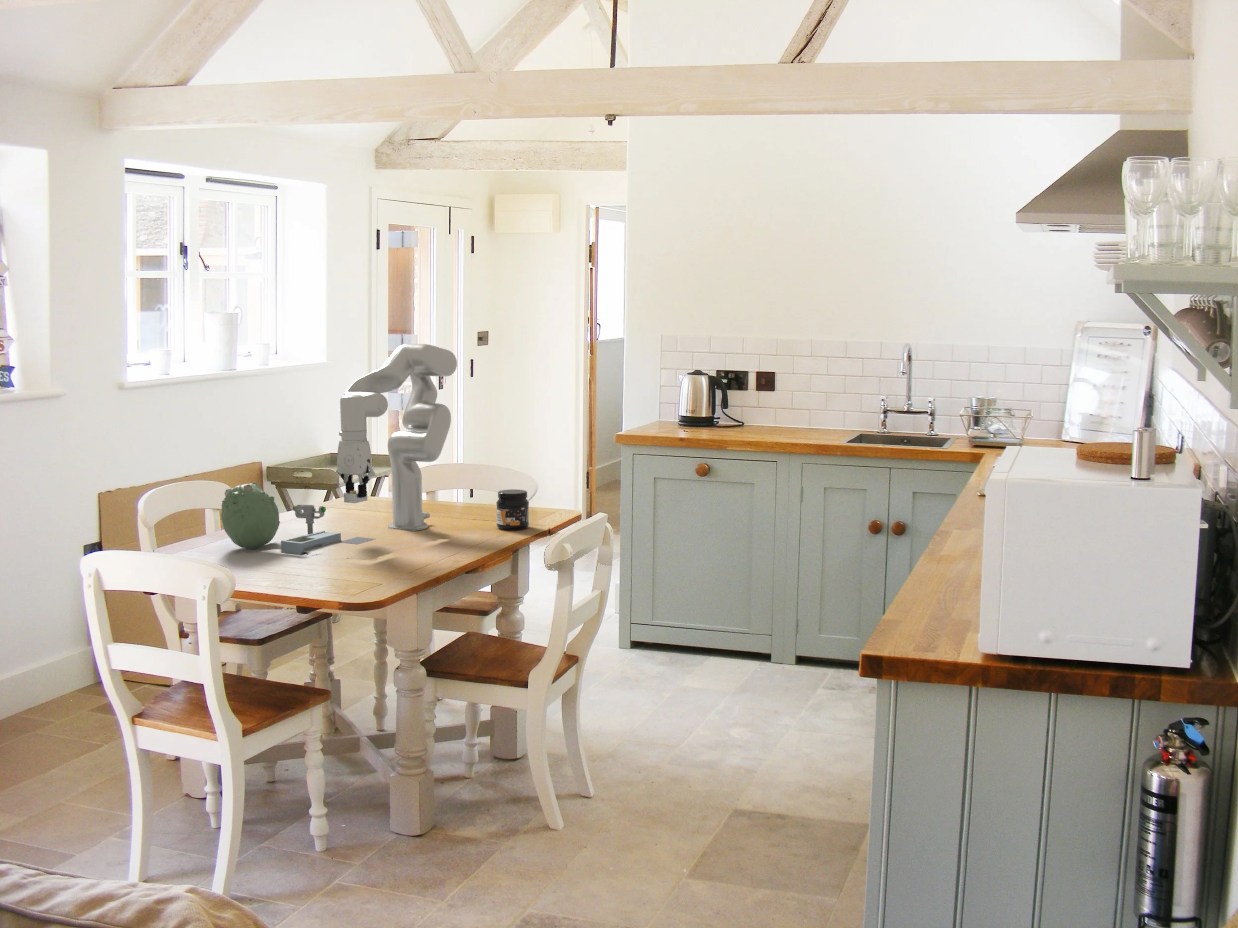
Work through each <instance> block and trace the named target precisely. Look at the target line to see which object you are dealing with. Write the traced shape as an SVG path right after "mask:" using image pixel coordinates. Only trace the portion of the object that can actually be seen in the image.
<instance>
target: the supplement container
mask: <svg viewBox="0 0 1238 928" xmlns="http://www.w3.org/2000/svg"><path fill="white" fill-rule="evenodd" d="M497 498H498V499H497V501H496V527H497V528H498V529H500V530H502V529H503V530H502V531H510V530H514V531H521V530H526V529H528V527H530V521H529V517H530V516H529V510H530V509H529V508H530V507H529V505H530V502H529V500H528V491H527V490H524V489H513V488H512V489H502V490H499V491H497Z"/></svg>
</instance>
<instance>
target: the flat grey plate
mask: <svg viewBox="0 0 1238 928" xmlns="http://www.w3.org/2000/svg"><path fill="white" fill-rule="evenodd" d="M374 540H375V538H373V537H372V538H371V537H362V536H356V537H352V538H348V539H344V540H341V541H339V543H342V544H352V545H359V544H364V543H367V542H370V541H374Z"/></svg>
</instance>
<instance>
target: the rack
mask: <svg viewBox="0 0 1238 928" xmlns="http://www.w3.org/2000/svg"><path fill="white" fill-rule="evenodd" d="M341 537H342V533H341V532H336V533H335V532H329V531H325V530H322V531H317V532H313V534H305V535H300V536H295V537H292V538H287V539H283V540H281V541H280V548H281V550H280V551H281V552H280V553H281V554H285V555H294V556H304V555H308V554H310V552H306V551H308V550H313V549H316V548H319V547H322V546H326V545H329V544H333V543H337V542H341V541H342V540H341Z"/></svg>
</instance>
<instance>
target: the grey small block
mask: <svg viewBox="0 0 1238 928" xmlns="http://www.w3.org/2000/svg"><path fill="white" fill-rule="evenodd" d="M366 501H368V495H367V496H366V497H362V498H359V496H358V489H357V490H355V489H354V490H351V491H350V492H347V493H346V492H344V493H343V503H347V504H348V503H349V504H358V503H362V502H366Z"/></svg>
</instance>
